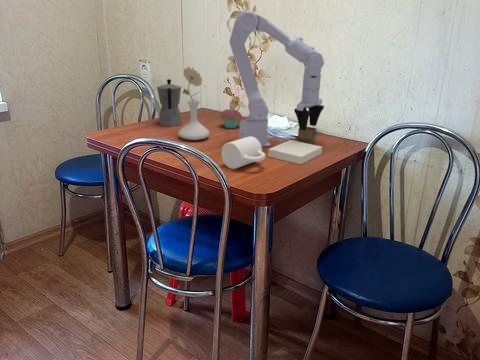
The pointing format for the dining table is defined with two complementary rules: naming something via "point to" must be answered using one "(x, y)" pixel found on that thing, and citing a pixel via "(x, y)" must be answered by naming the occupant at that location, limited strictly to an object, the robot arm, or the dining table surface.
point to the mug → (242, 152)
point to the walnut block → (307, 135)
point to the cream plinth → (295, 152)
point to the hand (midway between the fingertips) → (307, 127)
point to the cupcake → (230, 117)
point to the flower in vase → (193, 110)
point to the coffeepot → (169, 104)
